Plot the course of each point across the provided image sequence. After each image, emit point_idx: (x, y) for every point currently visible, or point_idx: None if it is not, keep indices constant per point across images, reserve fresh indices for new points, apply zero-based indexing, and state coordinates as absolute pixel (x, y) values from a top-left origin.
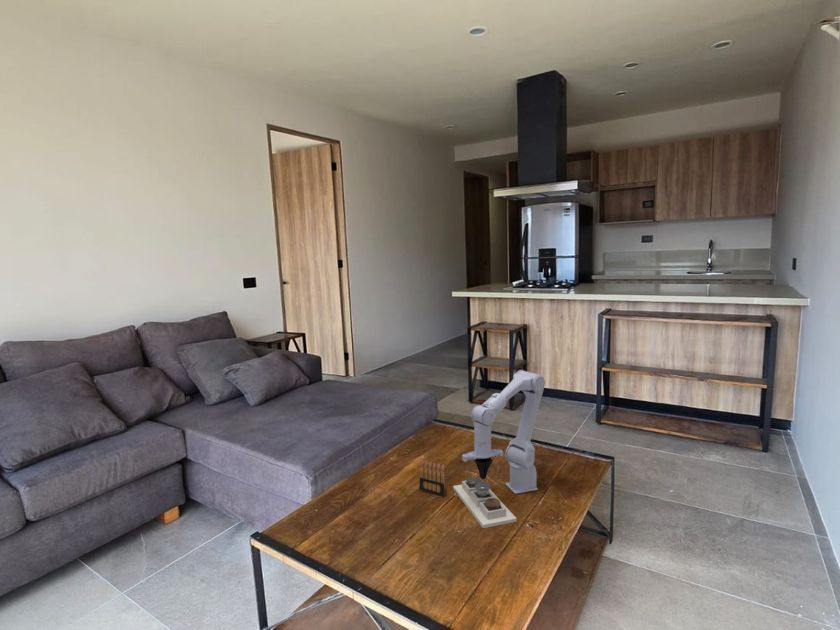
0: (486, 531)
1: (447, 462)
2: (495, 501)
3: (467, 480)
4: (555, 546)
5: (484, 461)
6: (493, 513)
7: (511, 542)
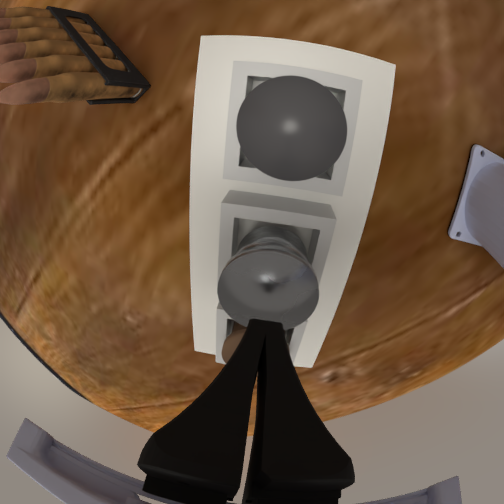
0: (201, 352)
1: None
2: None
3: (247, 109)
4: None
5: (247, 484)
6: None
7: None
